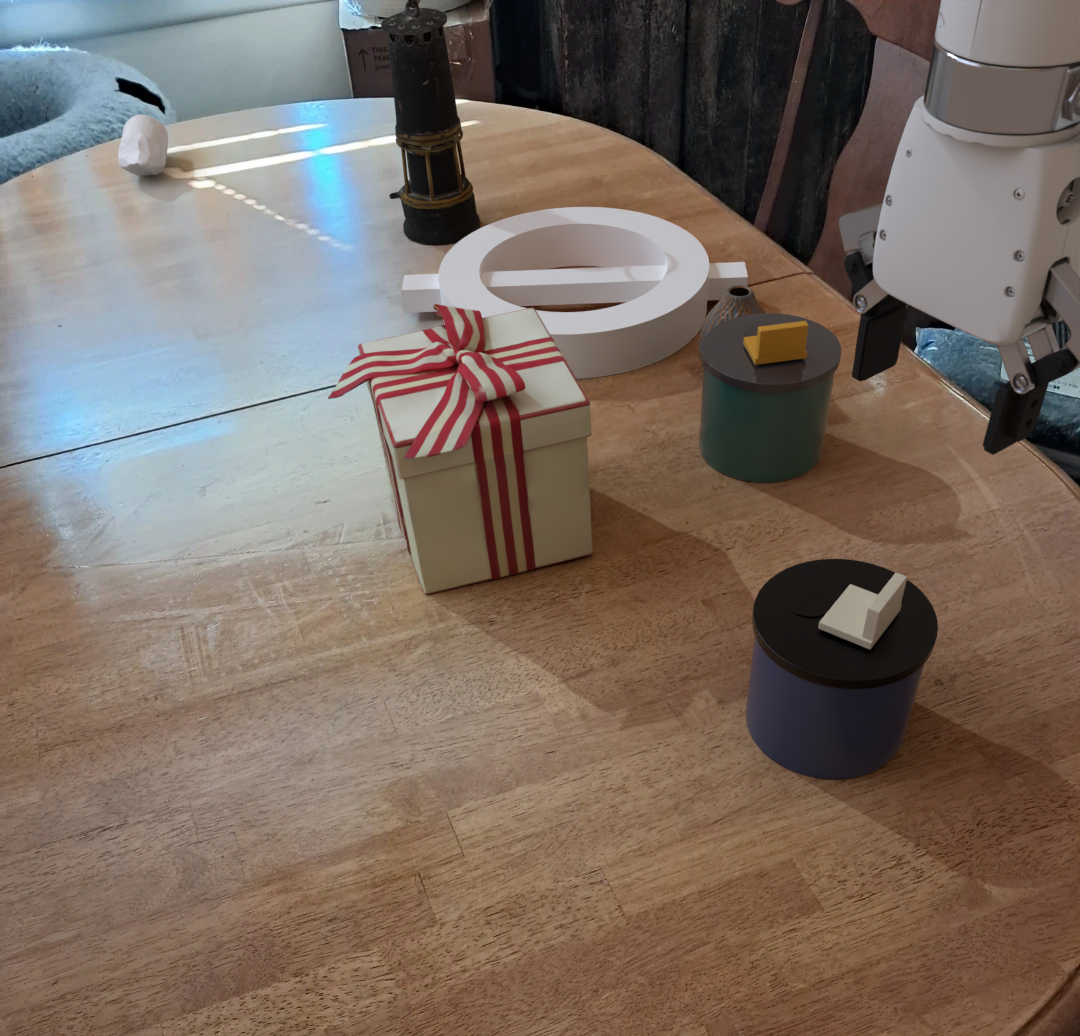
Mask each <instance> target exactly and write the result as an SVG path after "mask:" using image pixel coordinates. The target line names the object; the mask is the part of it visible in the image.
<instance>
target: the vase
mask: <svg viewBox="0 0 1080 1036" xmlns="http://www.w3.org/2000/svg"><path fill="white" fill-rule="evenodd" d="M759 313H767V312H766V310H765V309H764V308H763V307H762V305H761V304H760V303H759V301H758V300H757V297H756V296H755V293H754V290H753V289H752V288H751V287H750V286H749V285H747V286H744V285H735V286H732V287H729V288H728V289H727V291H726V293H725V295H724V296H723V298H722V299H721V300H718V302H717V303H715V305H714V306H713V307H712V308H711V310H710V311H709V312H708V314H706V317H705V321H704V323H703V325H702V327H701V329H700V331H699V332H700V333H699V337H698V354H699V359H700V362H701V366H702V368H703V369H704V365H703V362H702V360H701V346H702V341H703V339H704V337H705V336H706V334H707V333H708V332H709V331H710V330H711V329H712V328H714V327H715V326H717V325H718V324H720V323H722V322H724V321H727V320H729V319H732V318H735V317H739V316H744V315H750V314H759Z"/></svg>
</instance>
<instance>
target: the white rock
mask: <svg viewBox="0 0 1080 1036" xmlns="http://www.w3.org/2000/svg"><path fill="white" fill-rule="evenodd" d="M168 147H169V133H168V131H167V128H166V127H165V126H164V124H163V123H162V122H161V121H159V120H158V119H156V118H155V117H153V116H150V115H147V114H136V115H134V116H131V117H130V118H129V119H128V120H127V121H126V122H125V124H124V126H123V130H122V136H121V138H120V142H119V146H118V152H117V157H118V164H119V167H120V168H122V169H124V170H125V171H126V172H128V173H131V174H133V175H136V176H157V175H159V174H161V173H162V172H163V171H164V169H165V168H166V164H167V157H168V149H169V148H168Z"/></svg>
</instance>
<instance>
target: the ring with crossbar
mask: <svg viewBox="0 0 1080 1036" xmlns="http://www.w3.org/2000/svg"><path fill="white" fill-rule="evenodd" d="M709 259H710V258H709V256H708V253H707V251H706V249H705V247H704V246H703V244H702V243H701V242H700V241H699V240H698V239H697V238H696V236H694V235H693V234H692V233H690V232H689V231H687V230H686V229H684V228H682V227H681V226H679V225H677V224H675V223H673V222H670V221H669V220H667V219H663V218H661V217H657V216H655V215H652V214H651V215H650V214H649V213H645V212H640V211H636V210H635V211H634V210H630V209H629V210H628V209H621V208H616V207H615V208H614V207H603V206H569V207H554V208H547V209H540V210H536V211H529V212H524V213H520V214H516V215H512V216H509V217H505V218H502V219H499V220H497V221H494V222H491V223H488V224H486V225H484V226H482V227H479V229H478V230H476V231H474V232H472V233H471V234H469V235H467V236H466V237H464V238H463V239H461V240H460V241H459V242H456V243H454V245H453V246H452V247H451V248H450V249H449V250H448V251H447V253H446V254H445V255H444V256H443V258H442V260H441V263H440V264H439V268H438V273H422V274H404V276H403V280H402V285H401V297H402V304H403V310H404V314H411V313H412V314H414V313H434V311H436V310H435V309H434V307H433V305H435V304H438V305H443V306H449V307H455V308H463V309H470V310H476V311H480V312H481V315H482V318H485V317H489V316H494V315H499V314H504V313H508V312H513V311H518V310H523V309H527V307H531V306H532V307H533V306H557V305H558V306H559V305H560V306H561V305H586V304H612V303H620V304H617V305H613V306H608V307H605V308H604V307H603V308H599V309H593V310H586V311H585V310H584V311H568V312H566V311H565V312H563V311H546V310H537V309H535V310H536V312H537V313H538V315H539V317H540V318H541V320H542V322H543V323H544V325H545V327H546V329H547V330H548V332H549V334H550V336H551V337H552V338H553V340H554V342H555V343H556V345H557V347H558V349H559V350H560V352H561V354H562V356H563V357H564V359H565V360H566V362H567V364H568V366H569V368H570V369H571V371H572V373H573V374H574V376H575V378H576V379H577V380H583V379H593V378H601V377H609V376H614V375H618V374H619V375H620V374H623V373H624V374H625V373H627V372H632V371H635V370H639V369H641V368H644V367H645V368H646V367H647V366H650V365H653V364H655V363H658V362H659V361H662V360H664V359H666V358H668V357H669V356H671V355H673V354H675V353H677V352H679V351H680V350H681V349H682V348H684V347H685V346H686V345H688V344H689V343H690V342H691V341H692V340H693V339H694V338H695V337H696V336H697V335H698V334H699V332H700V331H701V329H702V326H703V323H704V321H705V318H706V317H707V312H708V301H720V300H721V299H722V298H723V296H724V295H725V293H726V291H727V289H728V288H729V287H732V286H735V285H744V286H748V280H749V276H748V270H747V266H746V262H745V261H735V262H734V261H733V262H731V261H730V262H710V260H709ZM564 267H578V268H564ZM436 312H437V311H436ZM437 313H438V312H437ZM442 320H443V319H442ZM443 325H445V323H444V320H443Z"/></svg>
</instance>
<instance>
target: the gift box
mask: <svg viewBox="0 0 1080 1036" xmlns="http://www.w3.org/2000/svg"><path fill="white" fill-rule="evenodd" d="M433 307H434V309H435V310H436V311H437V312H436V311H434V312H433V313H434V315H437V316H439V318H442V320H444V321H443V324H442V325H439V326H436V327H435V326H434V327H432V328H427V329H422V330H419V331H414V332H411V333H406V334H400V335H396V336H390V337H386V338H382V339H381V338H380V339H376V340H372V341H367V342H364V343H359V344H358V345H357V349H358V355H357V356H355V357H353V358H352V360H351V361H350V362H349V364H348V365H347V367H345V370H344V371H343V373H342V374H341V377H340V378H339V380H338V382H337V383H336V385H335V387H334V389H332V391H331V393H330V394H329V395H328V397H327V399H328V400H332V399H338V398H340V397H343V396H344V395H346V394H348V393H349V392H351V391H353V390H354V389H356V388H358V387H359V386H362V385H364V383H365V384H366V387H367V389H368V393H369V395H370V398H371V401H372V405H373V409H374V416H375V420H376V425H377V430H378V435H379V439H380V444H381V450H382V454H383V459H384V464H385V469H386V474H387V479H388V484H389V490H390V495H391V499H392V503H393V506H394V509H395V512H396V515H397V520H398V521H397V522H398V527H399V530H400V532H401V534H402V536H403V538H404V540H405V542H406V548H407V552H408V555H409V556H410V557H411V559H412V562H413V566H414V569H415V572H416V575H417V578H418V581H419V584H420V587H421V588H422V592H423V593H424V595H431V594H434V593H439V592H444V591H447V590H452V589H455V588H459V587H464V586H468V585H472V584H476V583H477V584H478V583H481V582H485V581H489V580H495V579H499V578H503V577H509V576H511V575H515V574H517V575H518V574H521V573H523V572H527V571H531V570H535V569H539V568H543V567H547V566H551V565H555V564H559V563H563V562H568V561H571V560H576V559H580V558H583V557H587V556H591V555H593V553H594V547H593V537H592V536H593V535H592V517H591V516H592V515H591V514H592V513H591V494H590V492H591V491H590V473H589V448H588V437H591V436H592V415H591V413H592V412H591V401H590V399H589V398H588V396H587V394H586V392H585V391H584V389H583V388H582V386H581V384H580V383H579V381H578V379H576V378H575V376H574V374H573V373H572V371H571V369H570V368H569V366H568V364H567V362H566V360H565V359H564V357H563V356H562V354H561V352H560V350H559V349H558V347H557V345H556V343H555V342H554V340H553V338H552V337H551V336H550V334H549V332H548V330H547V329H546V327H545V325H544V323H543V322H542V320H541V318H540V317H539V315H538V313H537V312H536V310H537V309H536V308H534V307H528V308H527V307H526V308H527V309H523V310H518V311H513V312H508V313H504V314H499V315H494V316H489V317H485V318H482V315H481V312H480V311H476V310H470V309H463V308H455V307H449V306H443V305H438V304H435V305H433ZM444 323H445V325H444Z"/></svg>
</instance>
